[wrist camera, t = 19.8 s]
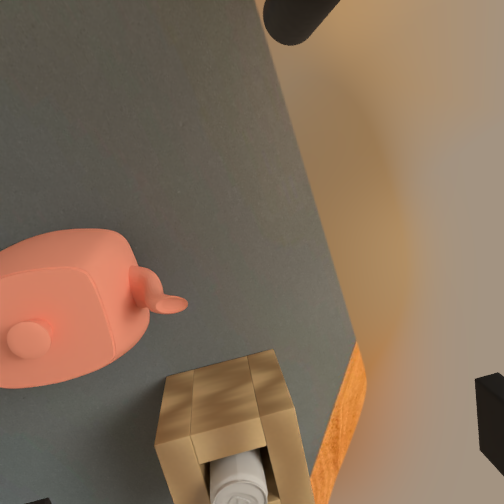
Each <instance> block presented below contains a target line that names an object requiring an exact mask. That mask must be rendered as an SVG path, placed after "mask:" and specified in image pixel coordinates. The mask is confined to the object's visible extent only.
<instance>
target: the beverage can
mask: <svg viewBox="0 0 504 504" xmlns="http://www.w3.org/2000/svg"><path fill="white" fill-rule="evenodd" d="M267 496H268V491H267V485H266V480H265V475H264V469H263V464H262V459H261V453H260V448H257V449H253V450H249V451H246V452H242V453H239V454H235V455H231V456H228V457H224V458H220V459H217V460H213V461H210V502H211V504H267V502H268V500H267Z"/></svg>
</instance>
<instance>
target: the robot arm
mask: <svg viewBox="0 0 504 504" xmlns="http://www.w3.org/2000/svg"><path fill="white" fill-rule="evenodd" d="M475 389H476V402H477V417H478V430H479V445H480V451H481V452H482V453H483V454H484V455H485V456H486V457H487V458H488V459H489V461H490V462H491V463H492V464H493V465H494V466H495V467H496V468H497V469H498V470H499V472H500V473H501V474H502V475H503V476H504V377H503V376H502V375H501V374H500V373H494V374H491V375H487V376H484V377H480V378H477V379H475ZM26 504H51V502H50V500H49V498H44V499H41V500H37V501H34V502H30V503H26Z"/></svg>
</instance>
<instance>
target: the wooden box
mask: <svg viewBox="0 0 504 504" xmlns="http://www.w3.org/2000/svg"><path fill="white" fill-rule="evenodd" d="M154 447H155V450H156V453H157V456H158V458H159V461H160V464H161V467H162V470H163V473H164V476H165V479H166V482H167V485H168V487H169V490H170V493H171V496H172V499H173V502H174V504H211V502H210V461H213V460H217V459H220V458H224V457H228V456H231V455H235V454H239V453H242V452H246V451H249V450H253V449H257V448H260V453H261V459H262V464H263V469H264V475H265V480H266V485H267V491H268V496H267V500H268V502H267V504H315V501H314V496H313V491H312V487H311V482H310V477H309V473H308V468H307V463H306V459H305V454H304V449H303V445H302V440H301V435H300V431H299V426H298V422H297V417H296V412H295V408H294V405H293V402H292V399H291V397H290V394H289V391H288V388H287V385H286V383H285V380H284V377H283V374H282V372H281V369H280V366H279V363H278V360H277V358H276V355H275V352H274V349H271V350H267V351H263V352H260V353H256V354H252V355H248V356H244V357H240V358H236V359H233V360H229V361H225V362H221V363H217V364H213V365H209V366H205V367H202V368H198V369H194V370H190V371H186V372H182V373H178V374H174V375H171V376H167V377H166V382H165V387H164V393H163V399H162V404H161V410H160V415H159V421H158V427H157V432H156V438H155V444H154Z"/></svg>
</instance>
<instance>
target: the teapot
mask: <svg viewBox="0 0 504 504" xmlns="http://www.w3.org/2000/svg"><path fill="white" fill-rule="evenodd" d="M187 306H188V302H187V301H186V300H185V299H184V298H181V297H178V296H171V295H165V294H164V293H163V288H162V284H161V281H160V280H159V278H158V276H157V275H156V274H155V273H154V272H153V271H151V270H150V269H148V268H144V267H139V266H138V264H137V261H136V259H135V256H134V254H133V251H132V249H131V247H130V245H129V243H128V242H127V240H126V239H125V238H124V237H123V236H122V235H121V234H119V233H117V232H115V231H111V230H107V229H68V230H59V231H54V232H49V233H45V234H41V235H37V236H34V237H31V238H28V239H26V240H23V241H21V242H18V243H16V244H14V245H12V246H10V247H8V248H6V249H4V250H2V251H1V252H0V387H1V388H8V389H15V388H29V387H36V386H43V385H49V384H54V383H59V382H63V381H67V380H70V379H73V378H76V377H80V376H82V375H85V374H88V373H91V372H93V371H96V370H98V369H100V368H102V367H104V366H106V365H108V364H110V363H112V362H113V361H115V360H116V359H118V358H119V357H121V356H122V355H123V354H125V353H126V352H127V351H129V350H130V349H131V348H132V347H134V346H135V345H136V343H137V342H138V341H139V340H140V338H141V337H142V336H143V334H144V333H145V331H146V329H147V327H148V324H149V319H150V313H149V310H150V311H152V312H155V313H159V314H173V313H177V312H180V311H183V310H184V309H186V308H187Z"/></svg>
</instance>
